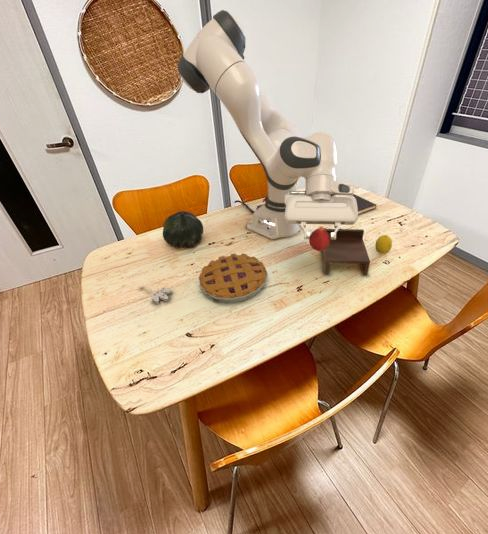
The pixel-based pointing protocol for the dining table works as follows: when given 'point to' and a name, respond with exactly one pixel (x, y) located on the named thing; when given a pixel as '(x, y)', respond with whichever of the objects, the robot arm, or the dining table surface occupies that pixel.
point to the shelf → (346, 249)
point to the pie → (233, 278)
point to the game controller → (160, 295)
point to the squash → (182, 230)
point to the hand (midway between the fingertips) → (320, 239)
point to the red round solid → (319, 239)
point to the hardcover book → (363, 204)
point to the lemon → (383, 244)
